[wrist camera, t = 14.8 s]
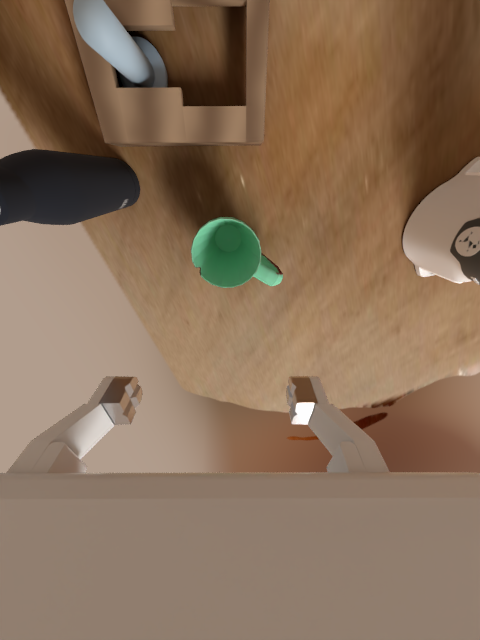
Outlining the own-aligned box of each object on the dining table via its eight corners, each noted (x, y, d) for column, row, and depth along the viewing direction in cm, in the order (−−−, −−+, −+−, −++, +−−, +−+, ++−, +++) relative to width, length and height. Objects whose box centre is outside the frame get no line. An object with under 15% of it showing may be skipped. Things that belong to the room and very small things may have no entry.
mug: (192, 249, 39) (180, 270, 31) (214, 194, 34) (208, 202, 26) (260, 284, 43) (266, 310, 35) (289, 239, 38) (303, 258, 30)
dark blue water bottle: (93, 152, 31) (-465, 74, 6) (139, 164, 32) (-192, 135, 7) (99, 201, 34) (-240, 275, 10) (141, 211, 35) (-76, 300, 11)
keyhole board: (266, -24, 23) (272, -61, 19) (260, 145, 31) (263, 141, 27) (77, -24, 23) (47, -62, 19) (120, 146, 31) (105, 142, 27)
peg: (163, 42, 25) (119, -40, 15) (171, 108, 29) (138, 74, 19) (115, 40, 25) (39, -44, 15) (128, 106, 28) (72, 72, 18)
